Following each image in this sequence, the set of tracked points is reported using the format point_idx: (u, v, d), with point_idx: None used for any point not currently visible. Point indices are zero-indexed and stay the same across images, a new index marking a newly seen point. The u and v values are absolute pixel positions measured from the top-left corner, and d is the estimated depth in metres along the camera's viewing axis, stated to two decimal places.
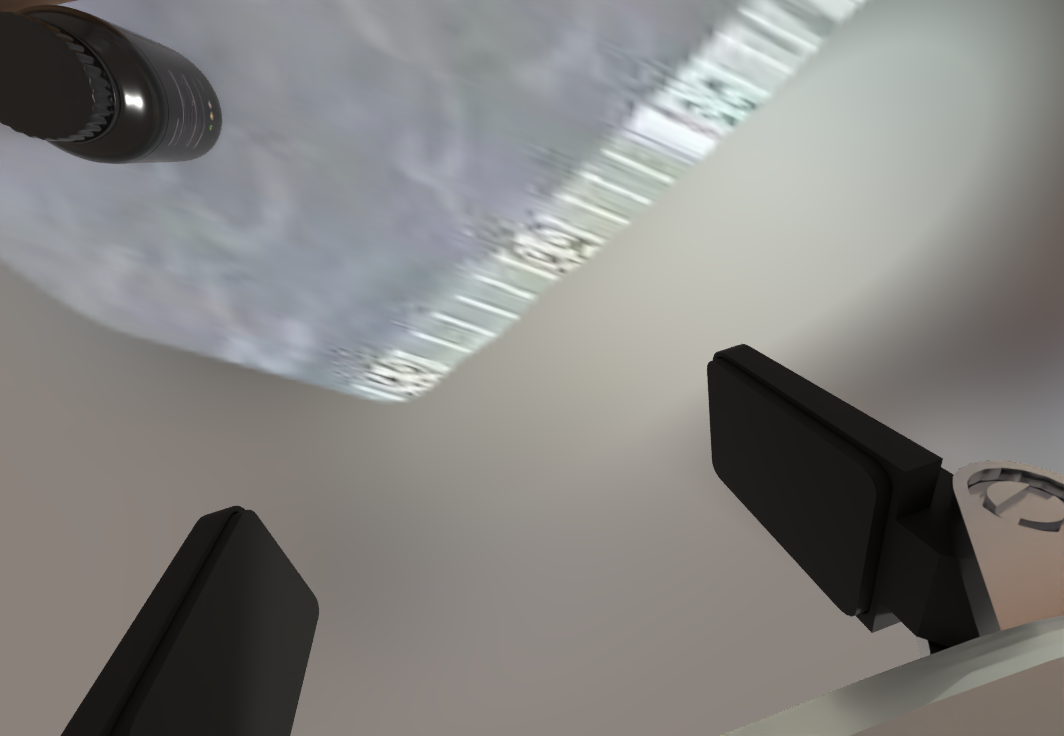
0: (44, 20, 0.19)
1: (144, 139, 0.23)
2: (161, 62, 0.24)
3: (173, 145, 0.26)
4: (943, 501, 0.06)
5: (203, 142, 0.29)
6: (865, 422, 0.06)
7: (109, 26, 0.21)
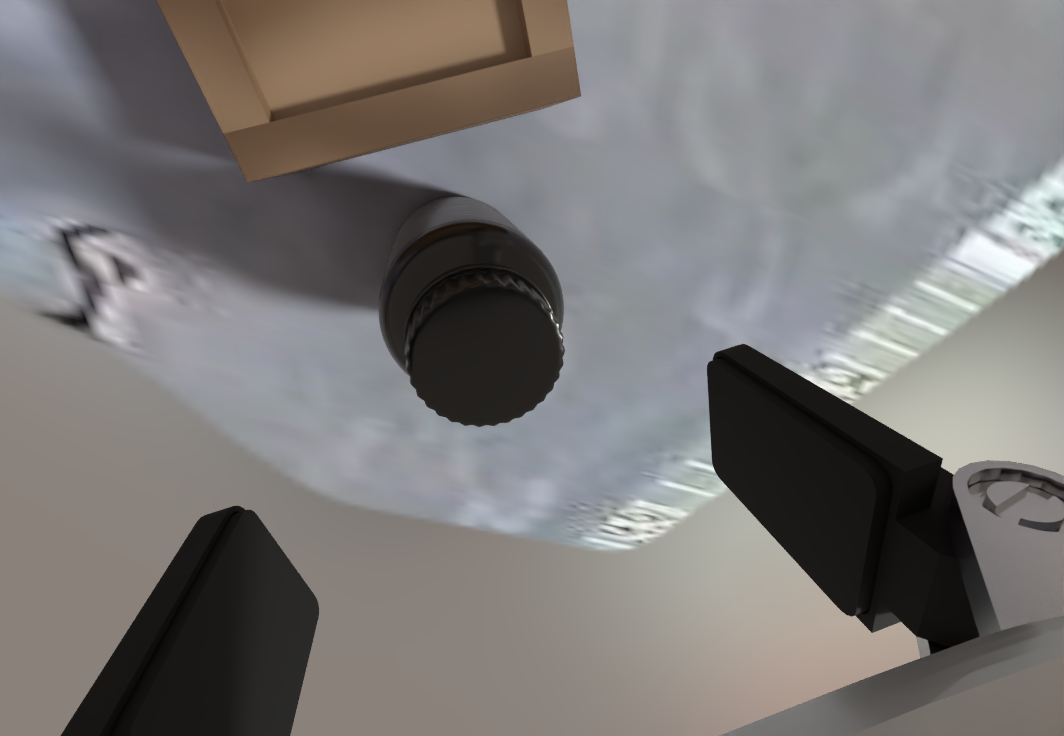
0: (505, 270, 0.13)
1: None
2: None
3: None
4: (943, 501, 0.06)
5: None
6: (865, 422, 0.06)
7: (530, 242, 0.16)
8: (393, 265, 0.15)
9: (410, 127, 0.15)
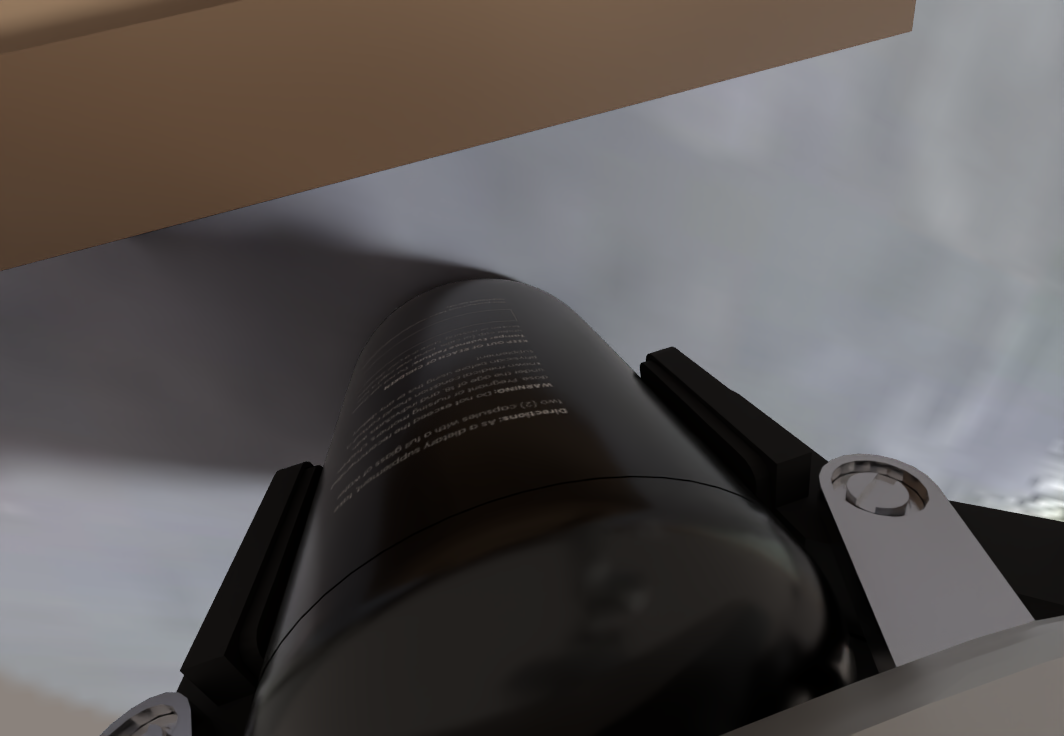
0: None
1: None
2: None
3: None
4: None
5: None
6: (756, 419, 0.07)
7: (784, 536, 0.04)
8: (274, 697, 0.04)
9: (355, 131, 0.04)
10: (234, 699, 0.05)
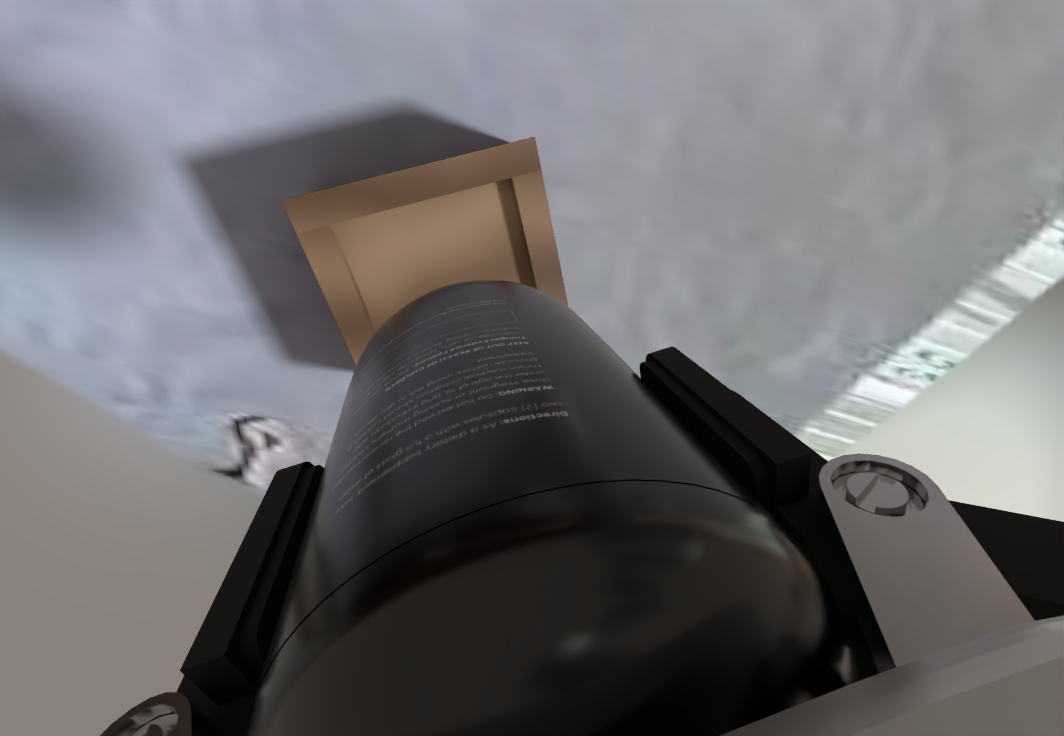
0: None
1: None
2: None
3: None
4: None
5: None
6: (755, 419, 0.07)
7: (784, 539, 0.04)
8: (275, 701, 0.04)
9: None
10: (234, 699, 0.05)
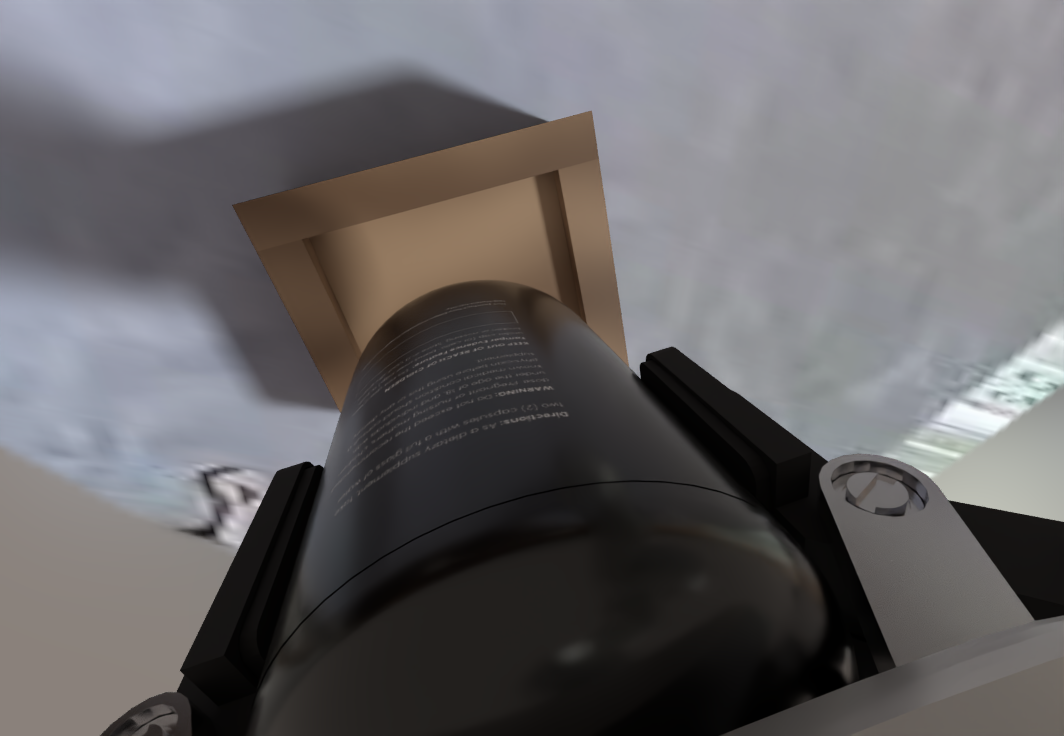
0: None
1: None
2: None
3: None
4: None
5: None
6: (756, 419, 0.07)
7: (785, 540, 0.04)
8: (275, 703, 0.04)
9: None
10: (234, 699, 0.05)
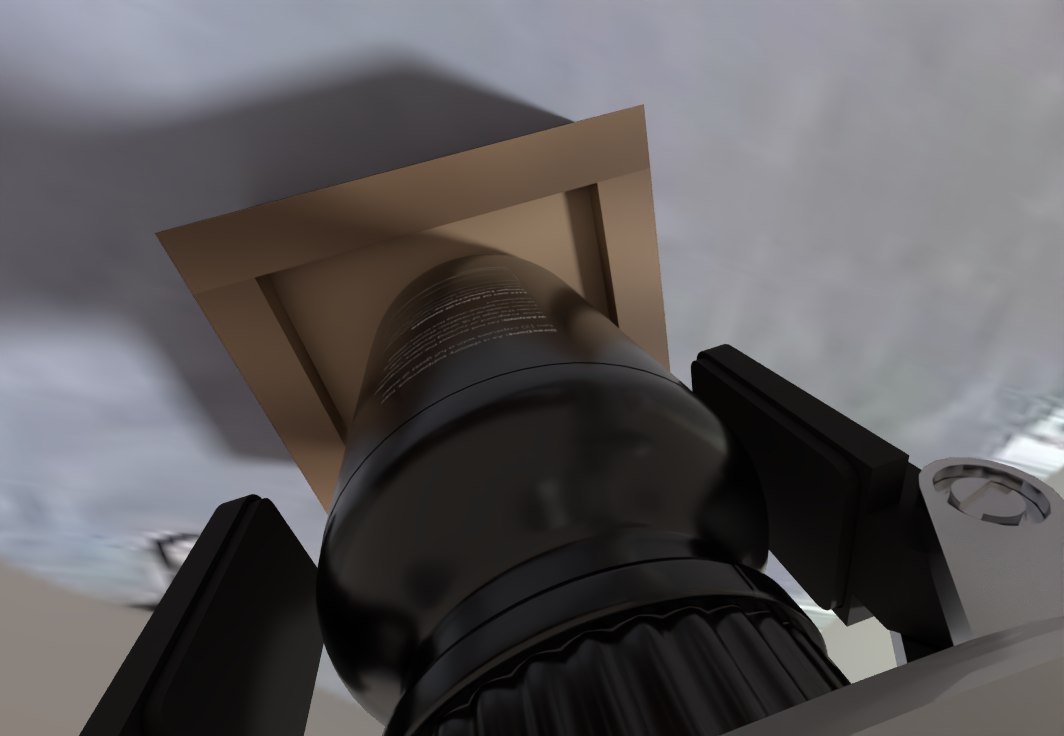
0: (733, 604, 0.04)
1: None
2: None
3: None
4: (911, 497, 0.06)
5: None
6: (837, 420, 0.06)
7: (711, 412, 0.06)
8: (352, 501, 0.05)
9: None
10: None
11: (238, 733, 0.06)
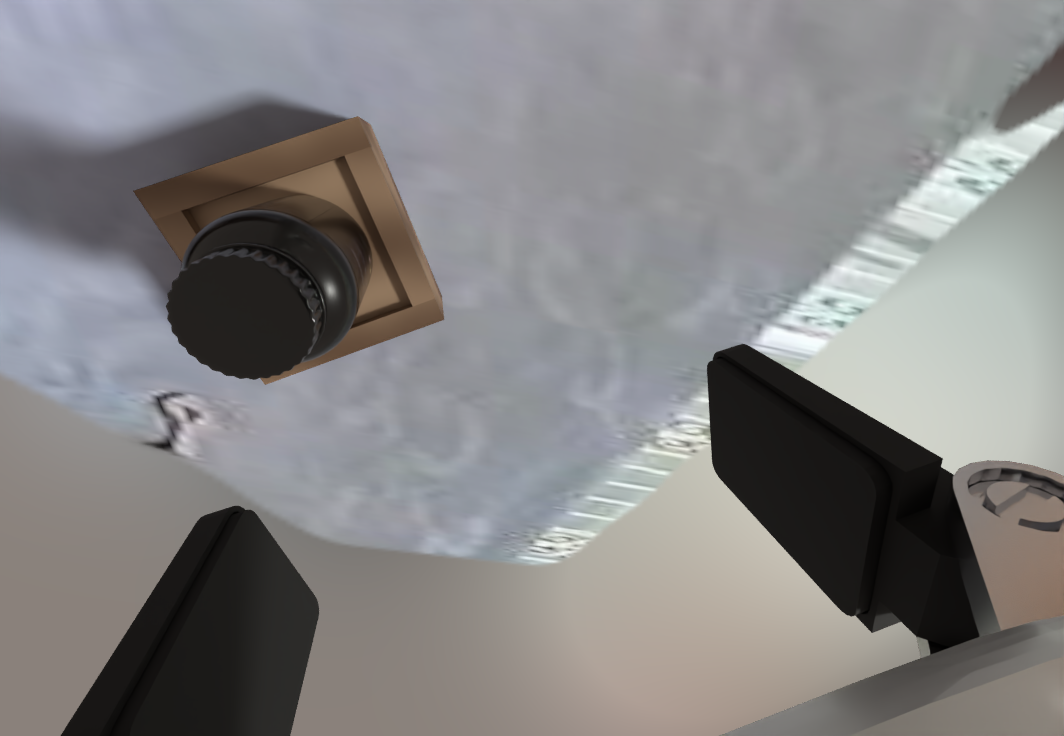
0: (258, 247, 0.16)
1: (337, 339, 0.20)
2: (345, 243, 0.21)
3: None
4: (943, 501, 0.06)
5: None
6: (865, 422, 0.06)
7: (307, 225, 0.18)
8: None
9: (349, 347, 0.28)
10: None
11: None
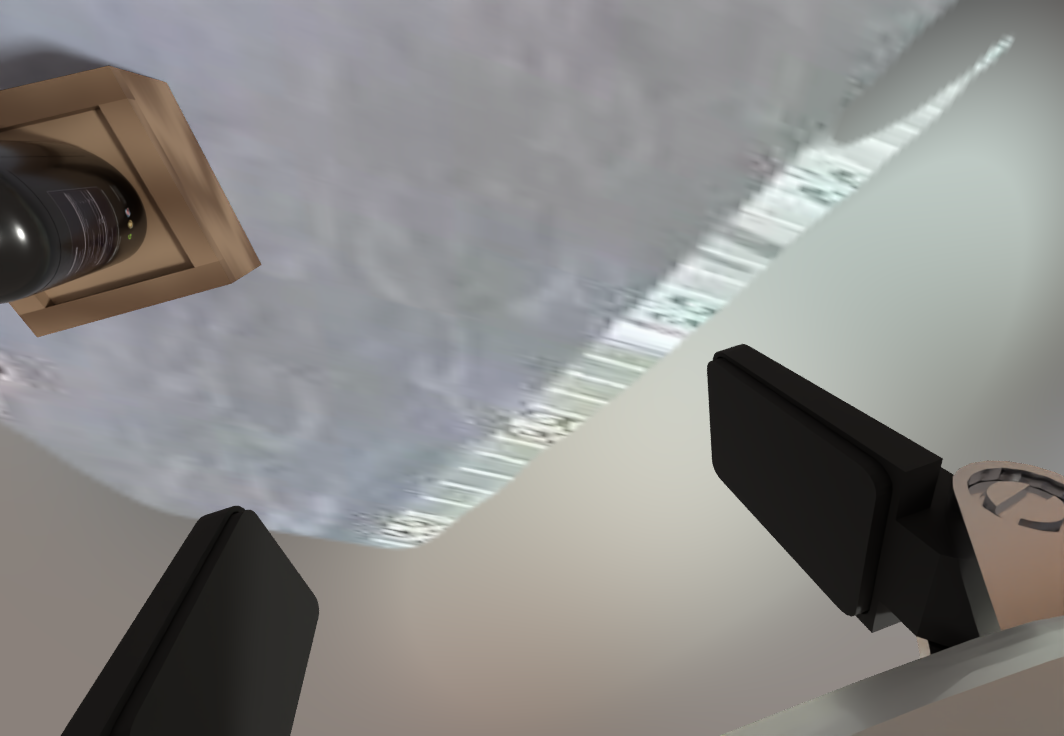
0: None
1: (28, 281, 0.20)
2: (54, 186, 0.20)
3: (75, 272, 0.22)
4: (943, 501, 0.06)
5: (121, 253, 0.25)
6: (865, 422, 0.06)
7: None
8: None
9: (129, 305, 0.28)
10: None
11: None
